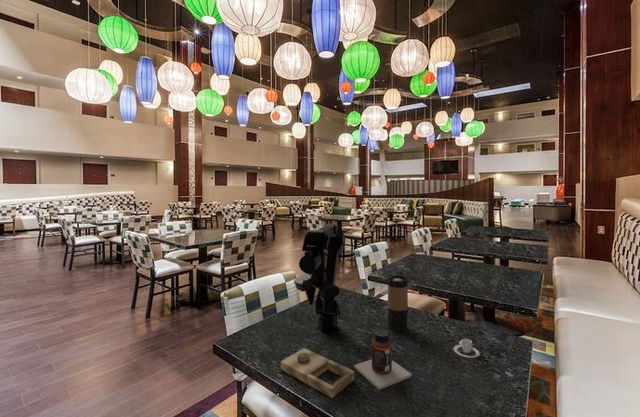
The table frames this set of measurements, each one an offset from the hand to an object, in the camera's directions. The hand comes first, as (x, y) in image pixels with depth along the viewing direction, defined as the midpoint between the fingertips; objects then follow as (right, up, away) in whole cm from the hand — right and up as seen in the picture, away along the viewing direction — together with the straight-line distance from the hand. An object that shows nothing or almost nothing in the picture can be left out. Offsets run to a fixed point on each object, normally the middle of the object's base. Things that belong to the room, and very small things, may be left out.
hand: (318, 308), depth 109 cm
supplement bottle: (+19, -13, -16) cm, 28 cm away
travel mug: (+31, -12, +12) cm, 36 cm away
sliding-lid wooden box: (0, -14, -16) cm, 22 cm away
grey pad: (+19, -14, -16) cm, 29 cm away
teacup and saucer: (+53, -13, -5) cm, 55 cm away
